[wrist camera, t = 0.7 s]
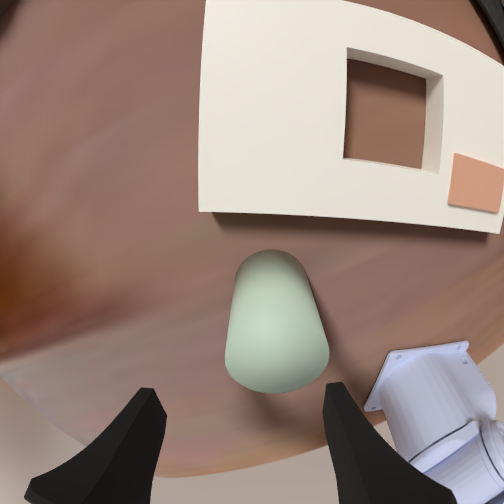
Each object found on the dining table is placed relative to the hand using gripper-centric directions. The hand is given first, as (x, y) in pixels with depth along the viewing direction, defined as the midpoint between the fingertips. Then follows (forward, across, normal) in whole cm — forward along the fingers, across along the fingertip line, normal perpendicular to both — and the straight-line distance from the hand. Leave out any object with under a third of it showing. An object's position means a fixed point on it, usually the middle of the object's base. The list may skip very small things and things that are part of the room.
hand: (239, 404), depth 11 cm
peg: (+9, -2, -1) cm, 9 cm away
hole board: (+8, -9, -11) cm, 17 cm away
